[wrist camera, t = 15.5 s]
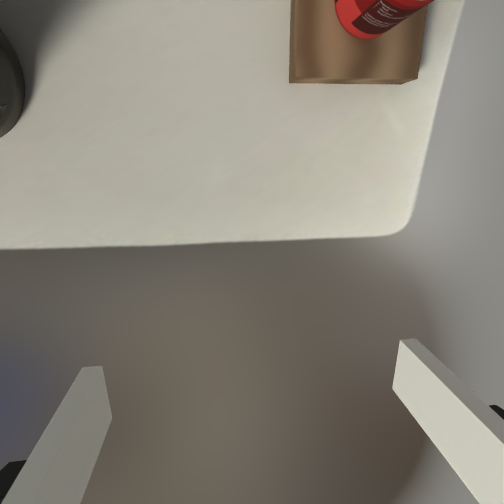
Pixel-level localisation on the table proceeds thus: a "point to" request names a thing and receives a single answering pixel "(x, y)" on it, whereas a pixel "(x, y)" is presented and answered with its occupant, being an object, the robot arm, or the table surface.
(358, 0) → the canned food
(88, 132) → the table surface
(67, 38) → the table surface
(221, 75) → the table surface
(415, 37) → the walnut stand
